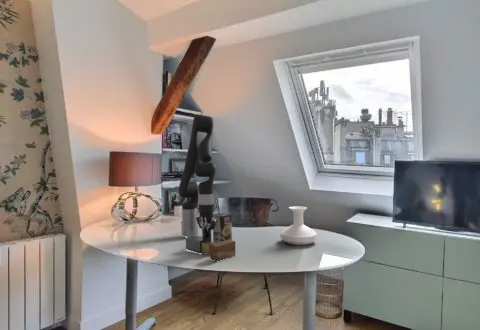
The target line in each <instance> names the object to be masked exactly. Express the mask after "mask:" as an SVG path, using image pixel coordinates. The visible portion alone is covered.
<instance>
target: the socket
mask: <svg viewBox="0 0 480 330" xmlns="http://www.w3.org/2000/svg"><path fill="white" fill-rule="evenodd" d="M235 255H236V241H235V240H232V241H231V240H225V241H222V242H218V243H215V244H212V245H210V255H209V256H210V259H212V260H215V261H214V262H216V261H220V260H223V259H226V258H228V259H230V258H229V257H231V258H233V257H232V256H234V257H236V256H235ZM210 259H209V260H210ZM212 260H211V261H212ZM226 260H227V259H226ZM223 261H224V260H223ZM220 262H221V261H220Z"/></svg>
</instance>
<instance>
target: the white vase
mask: <svg viewBox="0 0 480 330" xmlns="http://www.w3.org/2000/svg"><path fill="white" fill-rule="evenodd" d="M288 209H290V210H291V211H292V212H293V224H291V225H289V226H287V227H286V228H284V229H283V230H281V232H280V233H279V235H280V239H281V240H283V242H285V243H287V244H289V245H295V246H304V245H310V244H313V242H315V241H316V240H317V239H318V233H317V232H316V231H315V230H313V229H312V228H310V227H309V226H307V225H305V224H304V212H305V211H306V210H307V209H308V207H307V206H302V205H301V206H298V205H295V206H289V207H288Z"/></svg>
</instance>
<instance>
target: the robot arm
mask: <svg viewBox="0 0 480 330" xmlns="http://www.w3.org/2000/svg"><path fill="white" fill-rule="evenodd" d="M214 125H215V122H214V118H213V117H211V116H208V115H205V114H204V115H203V114H195V115H194V117H193V120H192V125H191V126H192V127H191V132H190V139H189V140H190V141H189V144H188V149H187V153H186V156H185V157H186V158H185V163H184V168H183V172H182V174H181V175H182V176H181V179H180V182H179V186H178V195H179V196H180V198H189V199H188V200H187V201H186V202H183V203H182V205H181V213H182V214H181V216H182V219H181V221H180V222H181V223H180V224H181V225H180V226H181V236H182V235H183V236H187V237H192V236H197V235H198V236H199V229H201V230H202V229H203V228H206V230H207V231H206V238H207V239H208V238H210V237H211V238H212V231H213V229H214V228H215V225H216V223H217V219H216V220H215V219H214V216H215V215H214V212H215V200H214V199H215V198H214V180H215V176H216V173H217V165H216V164H215V163H214V162H211V161H212V160H213V152H212V151H213V150H212V148H213V147H212V145H213V137H214ZM198 132H199V133H204V134H206V135H205V137H204V138H203V139H202V140H201V142H199V138H198ZM193 175H195V176H197V177H198V178H202V177H203V178H208V179H207V180H204V181H200V182H199V184H198V183H197V181H191V179H192V177H193ZM198 213H199V214H198ZM198 215H199V216H198Z"/></svg>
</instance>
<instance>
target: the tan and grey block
mask: <svg viewBox="0 0 480 330" xmlns="http://www.w3.org/2000/svg"><path fill="white" fill-rule="evenodd" d="M206 231H207V230H206V228H203V229H201V232H202V233H201V235H202V236H201V237H202V239H203V242H201V253H205V255H208V256H210V245H212V244H215V243H216V242H213V241H212V236H211V237H210V238H208V239H207V238H206Z"/></svg>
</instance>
